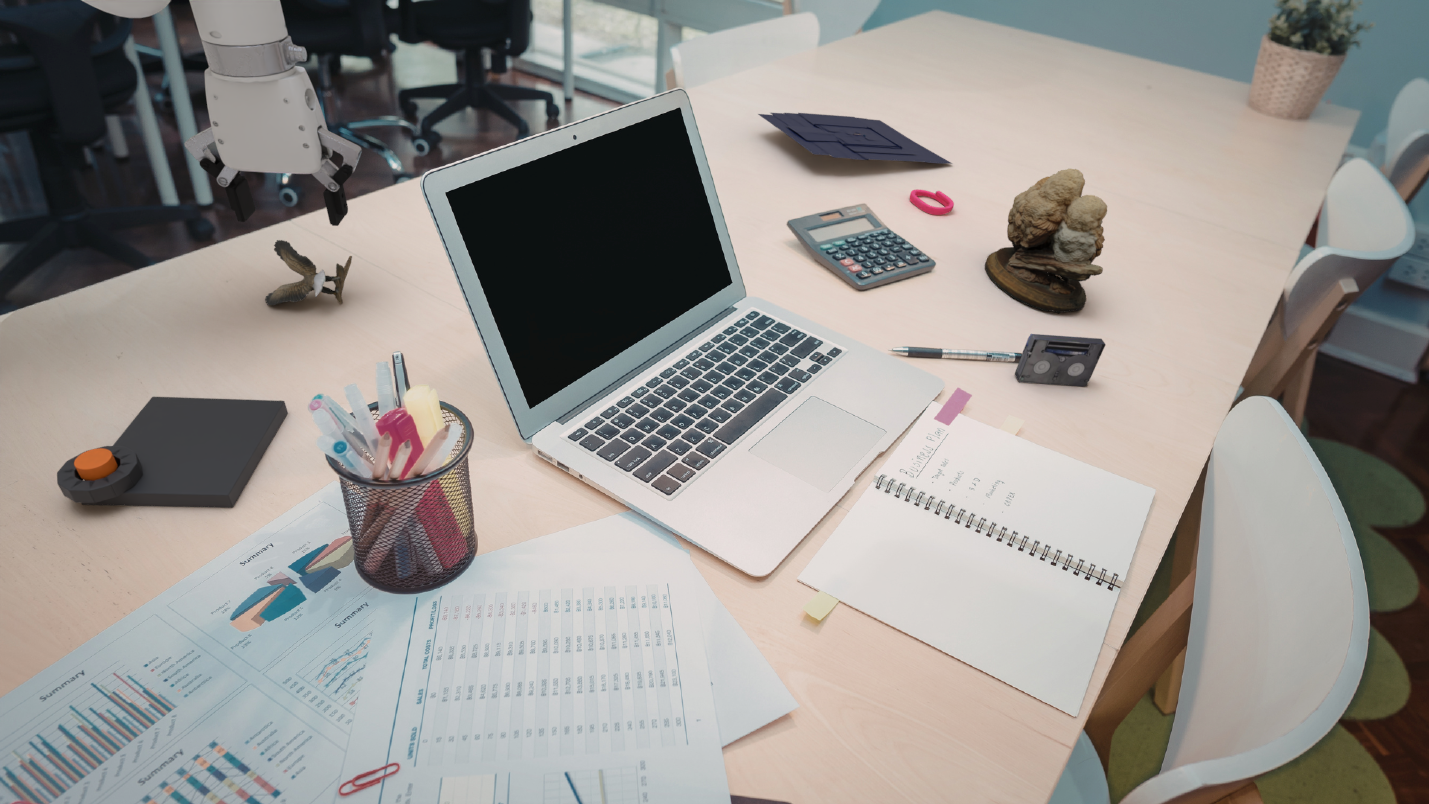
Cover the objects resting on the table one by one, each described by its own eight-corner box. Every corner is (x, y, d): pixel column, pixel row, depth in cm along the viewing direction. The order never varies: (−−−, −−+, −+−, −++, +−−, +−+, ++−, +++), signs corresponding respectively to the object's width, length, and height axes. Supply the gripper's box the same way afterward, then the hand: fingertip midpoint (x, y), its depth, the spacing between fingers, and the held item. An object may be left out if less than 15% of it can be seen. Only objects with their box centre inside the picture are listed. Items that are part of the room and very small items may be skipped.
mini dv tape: (1081, 379, 96) (1100, 336, 92) (1086, 386, 95) (1105, 344, 91) (1014, 374, 96) (1030, 331, 92) (1018, 382, 94) (1034, 338, 91)
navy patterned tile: (749, 125, 154) (753, 105, 152) (875, 133, 167) (880, 115, 165) (814, 174, 137) (820, 153, 135) (948, 178, 150) (955, 159, 148)
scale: (57, 516, 66) (41, 489, 65) (143, 408, 78) (133, 383, 76) (227, 519, 68) (217, 493, 66) (288, 413, 79) (281, 388, 77)
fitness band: (959, 214, 132) (962, 205, 131) (929, 217, 130) (932, 208, 129) (931, 194, 138) (933, 185, 137) (902, 196, 136) (904, 188, 135)
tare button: (73, 481, 66) (66, 468, 65) (91, 459, 68) (84, 447, 67) (107, 481, 66) (101, 469, 66) (123, 460, 68) (118, 448, 68)
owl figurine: (1111, 315, 109) (1165, 195, 99) (1040, 324, 106) (1087, 200, 95) (1030, 253, 122) (1070, 142, 112) (964, 259, 119) (999, 145, 109)
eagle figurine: (358, 272, 99) (280, 254, 97) (348, 243, 92) (264, 224, 91) (340, 328, 96) (260, 310, 95) (328, 302, 90) (241, 283, 88)
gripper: (353, 51, 83) (383, 207, 93) (174, 40, 81) (225, 200, 92) (330, 72, 77) (364, 237, 87) (136, 61, 75) (195, 230, 86)
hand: (293, 218), depth 89 cm, fingers open, 9 cm apart
